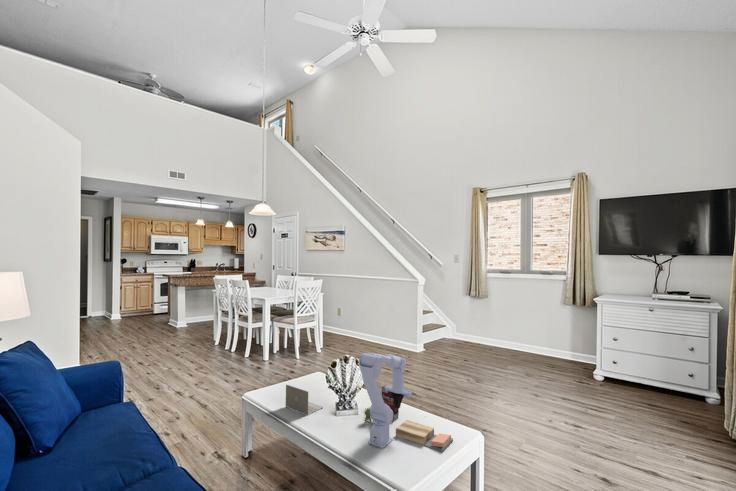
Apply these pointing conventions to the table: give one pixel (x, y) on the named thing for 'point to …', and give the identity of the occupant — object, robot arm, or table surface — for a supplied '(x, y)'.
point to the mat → (436, 446)
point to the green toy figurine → (367, 415)
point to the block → (441, 440)
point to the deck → (415, 432)
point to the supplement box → (390, 402)
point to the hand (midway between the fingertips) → (397, 407)
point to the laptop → (299, 401)
